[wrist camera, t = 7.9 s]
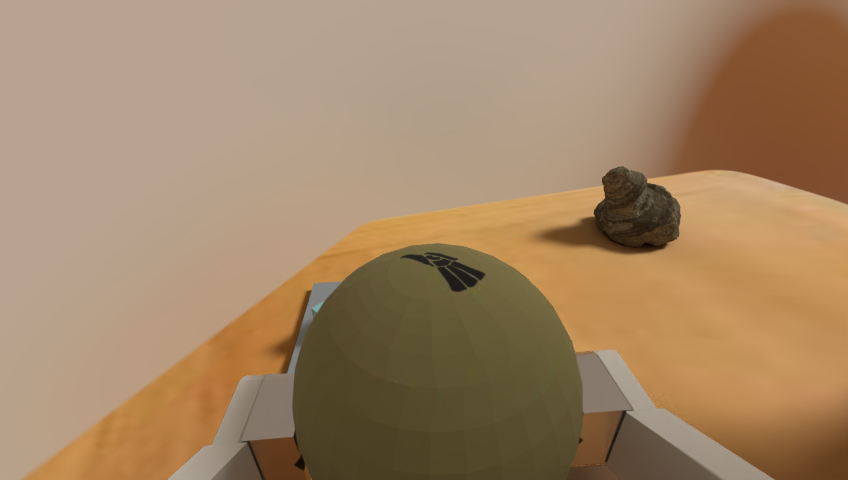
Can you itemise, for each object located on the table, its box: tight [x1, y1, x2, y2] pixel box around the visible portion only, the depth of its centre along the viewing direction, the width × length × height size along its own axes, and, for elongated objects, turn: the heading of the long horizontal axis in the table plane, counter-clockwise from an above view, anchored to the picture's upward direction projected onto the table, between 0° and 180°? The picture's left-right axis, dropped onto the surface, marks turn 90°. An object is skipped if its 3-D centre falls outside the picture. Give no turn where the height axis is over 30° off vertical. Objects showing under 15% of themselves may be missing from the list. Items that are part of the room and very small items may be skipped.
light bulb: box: [292, 243, 583, 480], centre depth 9 cm, size 6×6×10 cm
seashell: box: [594, 167, 706, 247], centre depth 45 cm, size 11×12×10 cm
